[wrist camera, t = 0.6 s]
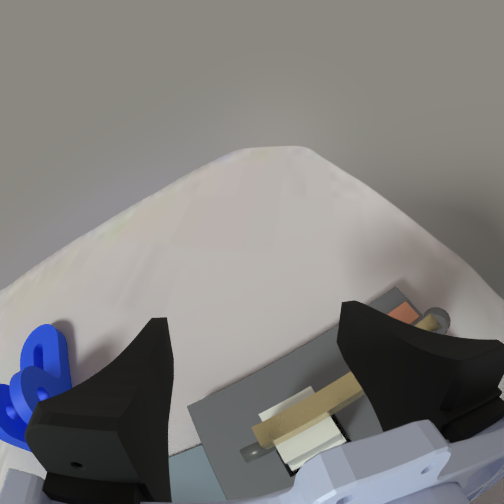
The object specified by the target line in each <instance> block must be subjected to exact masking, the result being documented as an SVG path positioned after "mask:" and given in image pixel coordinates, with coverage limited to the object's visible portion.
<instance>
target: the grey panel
mask: <svg viewBox="0 0 504 504" xmlns="http://www.w3.org/2000/svg"><path fill="white" fill-rule="evenodd" d="M368 306H370V307H372V308H374V309H376V310H378V311H380V312H382V313H385V314H387V315H389V316H391V317H393V318H395V319H398V320H400V321H402V322H405V323H407V324H410V325H412V326H415V325H416V324H418V323H419V322H420V321H421V320H422V319H423V315H422V314H421V313H420V312H419V311H418V310H417V309H416V308H415V307H414V305H413V304H412V303H411V302H410V301H409V300H408V299H407V298H406V297H405V296H404V295H403V294H402V293H401V292H400V290H399V289H398V288H397V287H394V288H393V289H391V290H390V291H389V292H387V293H386V294H384V295H383V296H381V297H380V298H378V299H377V300H375V301H374V302H373V303H371V304H370V305H368ZM338 328H339V325H337V326H335V327H334V328H332V329H331V330H329V331H327V332H326V333H324V334H322V335H321V336H319V337H318V338H316V339H314V340H313V341H311V342H309V343H307V344H306V345H304V346H302V347H301V348H299V349H297V350H295V351H294V352H292V353H290V354H288V355H287V356H285V357H283V358H281V359H280V360H278V361H276V362H274V363H272V364H271V365H269V366H267V367H265V368H263V369H261V370H259V371H258V372H256V373H254V374H252V375H250V376H248V377H246V378H244V379H242V380H240V381H238V382H236V383H234V384H232V385H230V386H228V387H226V388H224V389H222V390H220V391H218V392H216V393H214V394H212V395H210V396H208V397H206V398H204V399H202V400H200V401H197V402H195V403H193V404H191V405H189V406H187V408H188V410H189V413H190V415H191V418H192V420H193V423H194V426H195V428H196V430H197V433H198V435H199V438H200V440H201V443H202V445H203V447H204V450H205V452H206V454H207V457H208V459H209V461H210V463H211V466H212V468H213V470H214V472H215V475H216V477H217V479H218V481H219V483H220V485H221V487H222V490H223V492H224V494H225V496H226V498H227V500H236V499H245V498H254V497H259V496H263V495H266V494H270V493H273V492H276V491H280V490H283V489H286V488H289V487H292V486H293V485H294V481H295V476H296V475H294V476H293V475H292V473H291V471H290V469H289V468H288V466H287V464H286V463H285V462H284V461H283V459H282V457H281V455H280V453H279V452H278V450H275V451H273V452H271V453H269V454H267V455H265V456H263V457H261V458H258V459H256V460H254V461H252V462H250V463H246V462H245V460H244V459H243V457H242V455H241V453H240V449H242V448H244V447H246V446H249V445H251V444H253V443H255V442H257V441H258V440H257V438H256V436H255V434H254V432H253V430H252V428H251V427H253V426H255V425H257V424H259V423H261V422H262V420H261V418H260V416H259V414H260V413H262V412H264V411H266V410H268V409H270V408H272V407H273V406H275V405H277V404H279V403H281V402H283V401H285V400H286V399H288V398H290V397H292V396H294V395H295V394H297V393H299V392H301V391H303V390H304V389H306V388H308V387H309V386H311V387H312V389H313V390H314V392H315V393H316V392H318V391H320V390H321V389H323V388H325V387H326V386H328V385H330V384H331V383H333V382H334V381H336V380H338V379H339V378H341V377H342V376H344V375H346V374H347V373H349V372H350V371H351V370H350V369H349V367H348V365H347V364H346V362H345V361H344V359H343V356H342V354H341V352H340V350H339V347H338V345H337V342H336V341H337V334H338ZM333 416H334V418H335V419H336V421H337V422H338V424H339V425H340V427H341V428H342V430H343V432H344V433H345V435H346V436H347V438H348V439H349V441H350V442H352V441H356V440H359V439H363V438H366V437H370V436H373V435H376V434H379V433H383V430H382V428H381V425H380V423H379V420H378V418H377V416H376V413H375V411H374V409H373V407H372V405H371V403H370V401H369V399H368V397H367V396H366V394H364V395H363V396H361V397H360V398H358V399H357V400H355V401H354V402H352V403H350V404H349V405H347V406H346V407H344V408H343V409H341V410H339V411H338V412H336V413H334V414H333Z"/></svg>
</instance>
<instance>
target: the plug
mask: <svg viewBox="0 0 504 504" xmlns="http://www.w3.org/2000/svg"><path fill="white" fill-rule="evenodd" d="M313 394H315V392H314V390H313V389H312V387H311V386H309V387H308V388H306V389H304V390H303V391H301V392H299V393H297V394H295V395H294V396H292V397H290V398H288V399H286V400H285V401H283V402H281V403H279V404H277V405H275V406H273V407H272V408H270V409H268V410H266V411H264V412H262V413H260V414H259V416H260V418H261V420H262V422H263V421H265V420H267V419H269V418H271V417H273V416H275V415H277V414H279V413H280V412H282V411H284V410H286V409H288V408H290V407H292V406H293V405H295V404H297V403H299V402H301V401H302V400H304V399H306V398H308V397H309V396H311V395H313ZM345 442H346V440H345V438H344V437H343V435H342V433H341V432H340V430H339V429H338V427H337V426H336V424H335V423H334V421H333V419H332V418H331V416H329V417H328V418H326V419H324V420H323V421H321V422H319V423H317V424H316V425H314V426H312V427H310V428H309V429H307V430H305V431H303V432H301V433H299V434H298V435H296V436H294V437H292V438H290V439H288V440H286V441H284V442H282V443H280V444H278V445H276V446H274V447H272V448H270V449H268V450H267V449H265V448H263V447H261V446H260V444H259V442H258V441H257V442H255V443H253V444H251V445H249V446H246V447H244V448H242V449H240V453H241V455H242V457H243V459H244V460H245V462H246V463H250V462H252V461H254V460H256V459H258V458H261V457H263V456H265V455H267V454H269V453H271V452H273V451H275V450H278V452H279V453H280V455H281V457H282V459H283V461H284V462H285V463H286V464H288V465H289V467H290V468H291V470H292V471H294V470H296V469H298V468H300V467H302V465H303V464H304V463H305V462H306V461H307V460H309V459H310V458H312V457H313V456H315V455H316V454H318V453H319V452H321V451H324V450H327V449H330V448H332V447H335V446H337V445H341V444H343V443H345Z"/></svg>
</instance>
